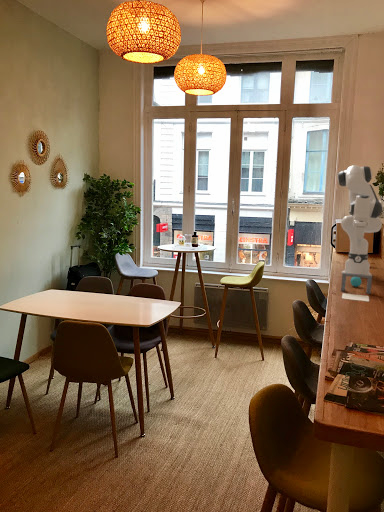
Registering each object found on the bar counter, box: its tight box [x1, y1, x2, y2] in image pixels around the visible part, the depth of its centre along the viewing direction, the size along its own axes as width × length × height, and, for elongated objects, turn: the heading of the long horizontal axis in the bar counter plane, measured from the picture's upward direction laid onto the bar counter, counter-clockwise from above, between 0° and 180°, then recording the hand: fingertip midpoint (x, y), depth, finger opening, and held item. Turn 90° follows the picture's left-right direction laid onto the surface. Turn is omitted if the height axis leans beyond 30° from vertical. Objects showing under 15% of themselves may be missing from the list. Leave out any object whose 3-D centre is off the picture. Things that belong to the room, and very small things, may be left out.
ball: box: [350, 277, 363, 287], centre depth 264 cm, size 6×6×6 cm
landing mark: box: [341, 292, 370, 303], centre depth 236 cm, size 13×13×1 cm
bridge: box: [340, 273, 373, 295], centre depth 249 cm, size 3×15×10 cm, turn 71°
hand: (358, 246), depth 270 cm, fingers open, 8 cm apart
